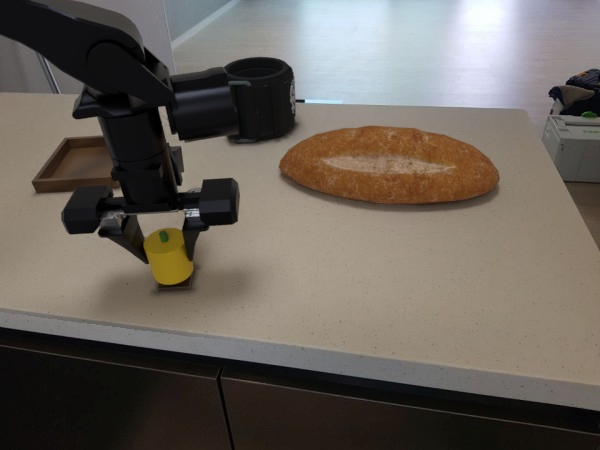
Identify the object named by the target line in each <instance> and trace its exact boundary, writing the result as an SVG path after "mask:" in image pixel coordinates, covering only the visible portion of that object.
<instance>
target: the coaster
mask: <svg viewBox="0 0 600 450" xmlns="http://www.w3.org/2000/svg"><path fill="white" fill-rule="evenodd" d="M194 270H195V266H194V265H193V271H192V273H191V275H190V276H189V277H188V278H187V279H185V280H184V281H182V282H180V283H177V284H172V285H165V284H161V283H158V284H157V288H156V290H157V292H158V293H162V292H165V293H166V292H178V291H179V292H181V291H190V290H191V287H192V281H193V276H194Z"/></svg>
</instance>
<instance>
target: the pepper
mask: <svg viewBox="0 0 600 450" xmlns="http://www.w3.org/2000/svg"><path fill="white" fill-rule="evenodd" d="M144 249H145V252H146V256H147V259H148V262H149V264H148V265H149V268H150V270H151V273H152V277H153V279H154V280H155V281H156V282H157V283H158V284H159V283H161V284H165V285H172V284H177V283H180V282H182V281H184V280H185V279H187V278H188V277H189V276H190V275H191V273H192V271H193V266H194V263H193V261H192V262H190V261H189V259H188V257H187V254H186V249H185V244H184V239H183V234H182V229H179V228H178V227H177V228H176V227H164V228H160V229H157V230H155V231H152V232H151V233H150V234H149V235H147V236H146V238H145V241H144ZM193 272H194V271H193Z"/></svg>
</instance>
